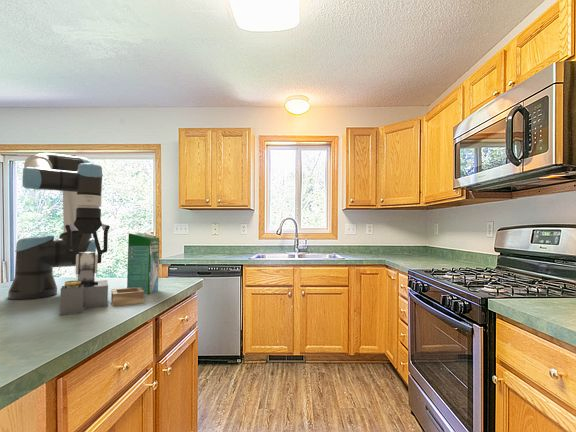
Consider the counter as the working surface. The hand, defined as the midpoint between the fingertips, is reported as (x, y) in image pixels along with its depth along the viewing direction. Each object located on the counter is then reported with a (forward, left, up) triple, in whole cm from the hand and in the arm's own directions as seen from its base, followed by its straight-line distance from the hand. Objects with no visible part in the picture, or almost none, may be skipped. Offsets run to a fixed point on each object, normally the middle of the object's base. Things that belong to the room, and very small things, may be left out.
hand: (86, 272), depth 114 cm
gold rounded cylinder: (+10, -3, -8) cm, 13 cm away
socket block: (+3, 0, -11) cm, 11 cm away
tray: (+2, +13, -11) cm, 17 cm away
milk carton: (-13, +20, -11) cm, 26 cm away
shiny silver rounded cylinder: (0, 0, -5) cm, 5 cm away
